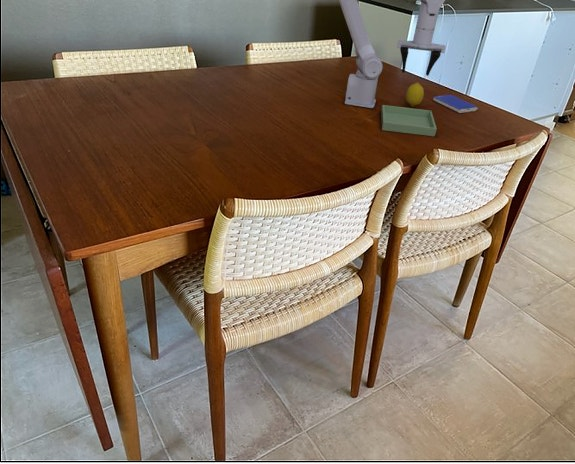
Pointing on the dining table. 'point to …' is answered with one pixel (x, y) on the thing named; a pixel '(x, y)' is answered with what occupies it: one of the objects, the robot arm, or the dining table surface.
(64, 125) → the dining table surface
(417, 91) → the lemon
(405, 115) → the tray
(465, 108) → the hard drive
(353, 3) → the robot arm
